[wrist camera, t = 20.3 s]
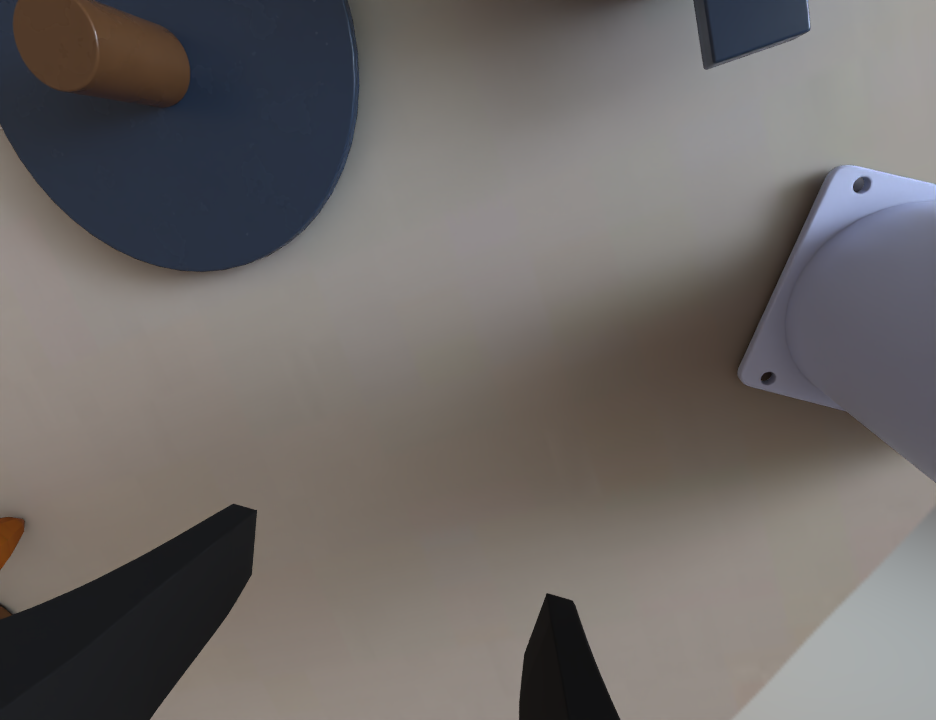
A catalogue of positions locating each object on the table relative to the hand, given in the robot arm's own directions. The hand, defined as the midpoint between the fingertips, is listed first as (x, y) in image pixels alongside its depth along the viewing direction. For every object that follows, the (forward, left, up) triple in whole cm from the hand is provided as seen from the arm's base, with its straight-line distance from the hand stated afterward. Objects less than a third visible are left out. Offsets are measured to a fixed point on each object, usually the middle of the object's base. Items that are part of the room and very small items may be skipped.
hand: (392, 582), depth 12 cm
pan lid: (+13, -10, -10) cm, 19 cm away
